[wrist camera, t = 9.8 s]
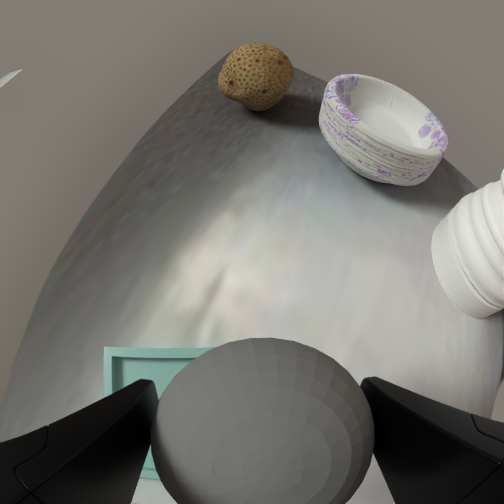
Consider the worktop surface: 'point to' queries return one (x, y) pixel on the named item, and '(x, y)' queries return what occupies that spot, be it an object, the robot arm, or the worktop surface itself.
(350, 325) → the worktop surface
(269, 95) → the natural sponge
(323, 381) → the light bulb
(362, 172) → the paper bowls
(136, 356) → the tray
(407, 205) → the worktop surface
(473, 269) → the honey pot
